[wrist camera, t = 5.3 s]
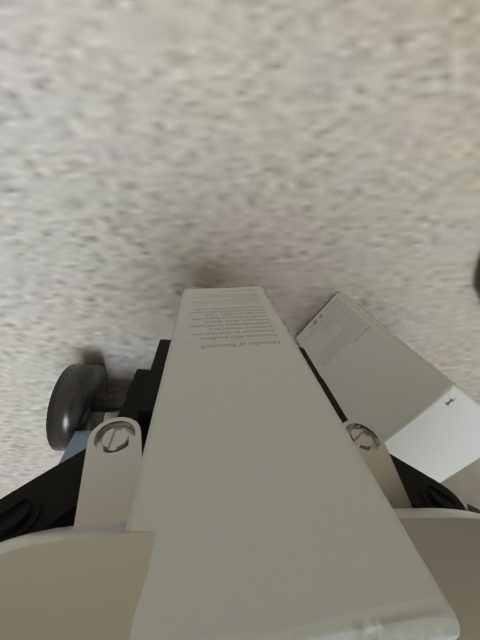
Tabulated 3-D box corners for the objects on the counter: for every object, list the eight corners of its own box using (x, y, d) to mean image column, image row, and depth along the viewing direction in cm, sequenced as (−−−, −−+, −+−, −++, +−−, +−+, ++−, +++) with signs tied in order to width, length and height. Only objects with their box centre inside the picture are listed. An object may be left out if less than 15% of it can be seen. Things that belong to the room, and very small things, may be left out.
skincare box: (261, 375, 16) (364, 739, 5) (192, 380, 16) (155, 784, 5) (265, 281, 13) (489, 643, 3) (181, 284, 13) (49, 724, 2)
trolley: (225, 353, 26) (285, 793, 7) (210, 466, 34) (220, 812, 15) (80, 348, 24) (-387, 979, 5) (101, 470, 32) (-45, 886, 13)
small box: (293, 337, 26) (363, 456, 15) (337, 289, 24) (458, 382, 13) (344, 370, 29) (435, 490, 18) (387, 329, 27) (520, 434, 16)
